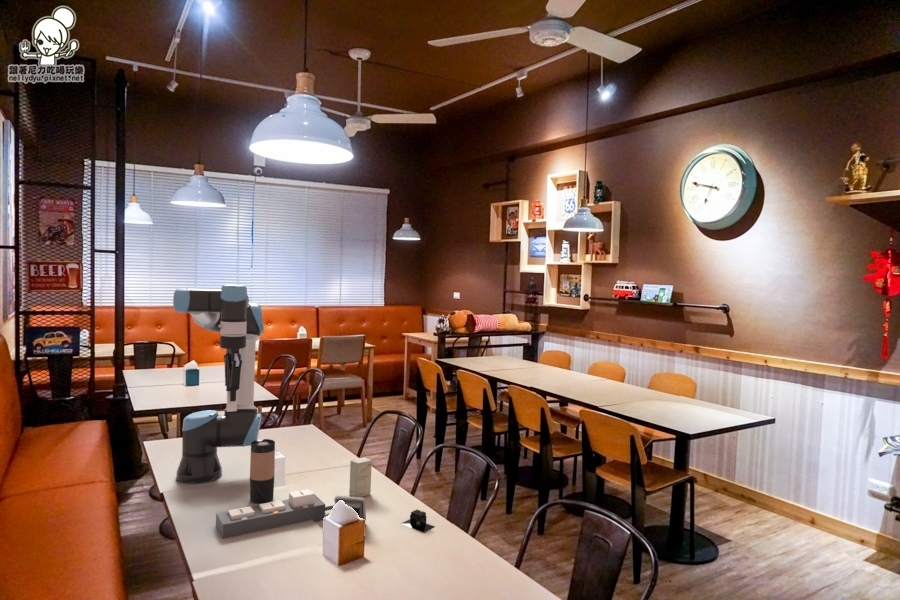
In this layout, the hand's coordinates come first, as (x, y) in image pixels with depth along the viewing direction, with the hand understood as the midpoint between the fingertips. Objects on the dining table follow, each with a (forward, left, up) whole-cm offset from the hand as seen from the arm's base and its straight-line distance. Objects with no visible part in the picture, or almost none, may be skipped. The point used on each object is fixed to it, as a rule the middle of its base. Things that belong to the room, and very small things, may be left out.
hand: (231, 410), depth 179 cm
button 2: (+14, +9, -31) cm, 35 cm away
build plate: (+35, +48, -33) cm, 68 cm away
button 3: (+14, +18, -29) cm, 37 cm away
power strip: (+14, +12, -32) cm, 37 cm away
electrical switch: (+26, +29, -33) cm, 51 cm away
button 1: (+14, 0, -31) cm, 34 cm away
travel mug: (-4, +11, -33) cm, 35 cm away
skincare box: (+5, +42, -33) cm, 53 cm away
